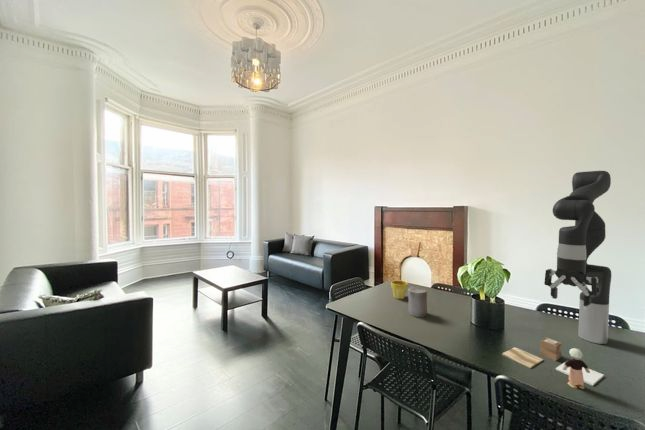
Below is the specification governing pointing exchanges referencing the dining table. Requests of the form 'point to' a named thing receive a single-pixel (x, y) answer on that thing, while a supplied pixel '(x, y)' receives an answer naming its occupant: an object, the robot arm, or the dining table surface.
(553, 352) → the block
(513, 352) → the pad
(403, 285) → the plant pot
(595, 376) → the pad
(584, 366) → the grandmother figurine
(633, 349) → the dining table surface
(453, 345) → the dining table surface
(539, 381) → the dining table surface
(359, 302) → the dining table surface
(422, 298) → the pillar candle
